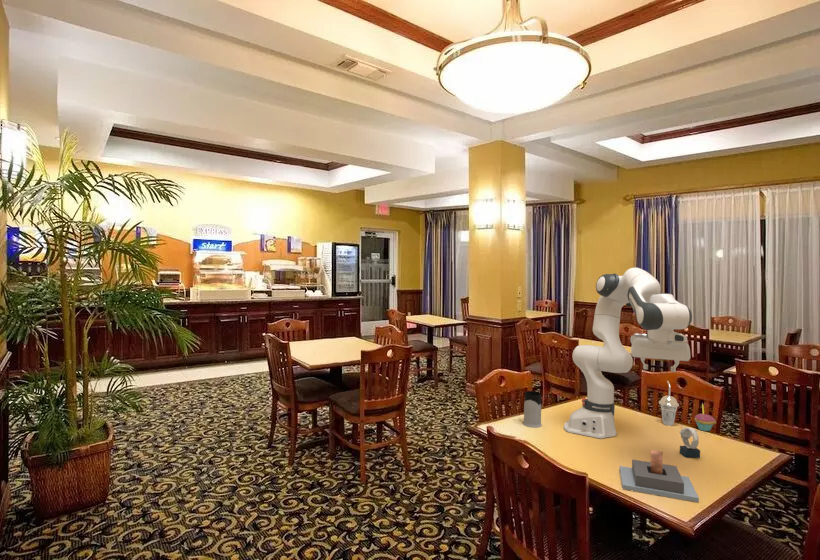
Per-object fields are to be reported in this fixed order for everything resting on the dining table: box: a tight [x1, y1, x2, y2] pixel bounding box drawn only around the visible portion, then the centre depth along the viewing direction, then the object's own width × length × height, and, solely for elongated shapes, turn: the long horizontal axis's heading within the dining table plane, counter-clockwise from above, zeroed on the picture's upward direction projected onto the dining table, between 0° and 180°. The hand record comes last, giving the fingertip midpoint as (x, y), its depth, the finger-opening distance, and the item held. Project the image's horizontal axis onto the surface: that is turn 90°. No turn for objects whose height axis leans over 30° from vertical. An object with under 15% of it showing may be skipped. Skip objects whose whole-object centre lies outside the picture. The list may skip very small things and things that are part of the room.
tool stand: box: [619, 459, 700, 503], centre depth 156 cm, size 22×16×5 cm
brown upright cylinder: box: [650, 449, 664, 475], centre depth 156 cm, size 4×4×10 cm
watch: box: [679, 427, 701, 459], centre depth 182 cm, size 6×8×11 cm
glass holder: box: [522, 390, 543, 429], centre depth 217 cm, size 9×14×15 cm, turn 148°
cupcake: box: [693, 402, 717, 432], centre depth 212 cm, size 9×8×12 cm
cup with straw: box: [658, 380, 680, 427], centre depth 219 cm, size 8×9×20 cm
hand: (659, 370), depth 176 cm, fingers open, 8 cm apart
